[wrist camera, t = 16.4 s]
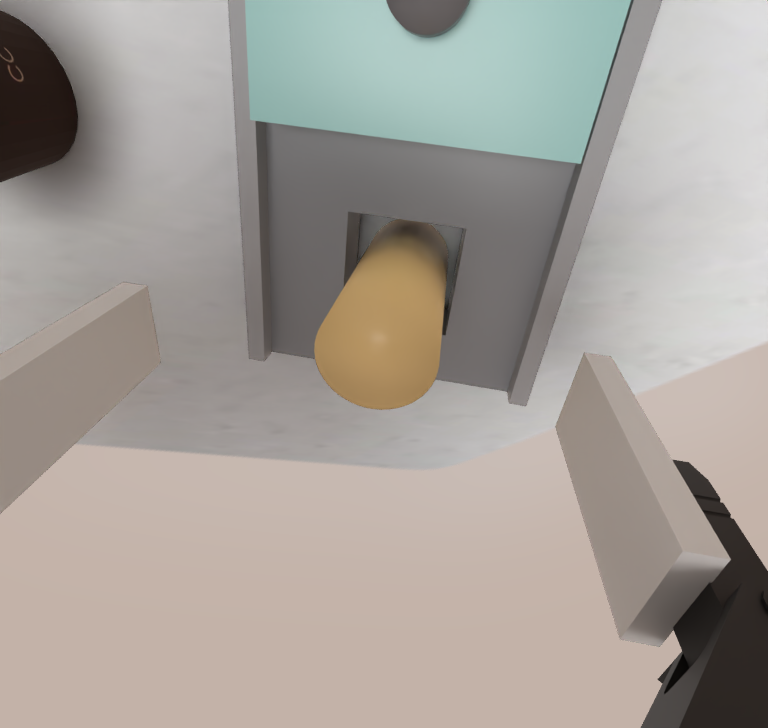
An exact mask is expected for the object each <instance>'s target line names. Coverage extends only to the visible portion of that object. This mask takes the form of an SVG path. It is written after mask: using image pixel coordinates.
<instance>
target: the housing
mask: <svg viewBox="0 0 768 728" xmlns="http://www.w3.org/2000/svg"><path fill="white" fill-rule="evenodd" d="M661 2H662V0H631V2H630V5H629V8H628V12H627V15H626V18H625V21H624V25H623V28H622V31H621V34H620V38H619V41H618V44H617V47H616V51H615V54H614V57H613V60H612V64H611V67H610V70H609V74H608V77H607V80H606V83H605V87H604V90H603V93H602V96H601V100H600V103H599V106H598V109H597V113H596V116H595V119H594V122H593V126H592V129H591V132H590V135H589V139H588V142H587V145H586V148H585V152H584V155H583V158H582V161H581V164H578V163H570V162H563V161H555V160H548V159H540V158H533V157H525V156H518V155H510V154H502V153H495V152H487V151H480V150H472V149H465V148H457V147H450V146H442V145H435V144H427V143H420V142H412V141H405V140H397V139H390V138H382V137H375V136H367V135H359V134H352V133H344V132H337V131H329V130H322V129H314V128H307V127H299V126H292V125H284V124H277V123H269V122H262V121H254V120H250V105H249V82H248V59H247V36H246V13H245V0H228V9H229V26H230V43H231V60H232V77H233V94H234V111H235V129H236V146H237V163H238V180H239V197H240V214H241V231H242V248H243V265H244V282H245V299H246V316H247V333H248V350H249V359H254V360H260V361H265V360H266V359H267V357H268V356H269V355H270V353H271V352H278V353H284V354H289V355H295V356H301V357H307V358H313V359H315V353H314V347H315V339H316V335H317V333H318V330H319V328H320V326H321V324H322V323H323V321H324V319H325V318H326V316H327V314H328V313H329V311H330V309H331V308H332V306H333V304H334V303H335V301H336V300H337V298H338V296H339V295H340V293H341V291H342V290H343V288H344V286H345V285H346V283H347V281H348V280H349V278H350V276H351V275H352V273H353V271H354V270H355V268H356V265H357V252H358V239H359V226H360V213H362V214H368V215H375V216H382V217H389V218H396V219H403V220H410V221H417V222H423V223H430V224H437V225H444V226H451V227H458V228H463V233H462V238H461V243H460V248H459V253H458V258H457V263H456V268H455V273H454V279H453V284H452V289H451V294H450V299H449V304H448V309H444V315H443V327H442V338H441V350H440V361H439V369H438V373H437V376H436V378H435V379H436V380H442V381H448V382H454V383H460V384H466V385H472V386H478V387H484V388H489V389H495V390H501V391H507V393H508V400H509V403H510V404H516V405H522V406H526V405H527V402H528V399H529V396H530V393H531V390H532V387H533V384H534V381H535V378H536V375H537V372H538V369H539V366H540V363H541V360H542V357H543V354H544V351H545V348H546V345H547V342H548V339H549V336H550V333H551V330H552V327H553V324H554V321H555V318H556V315H557V312H558V309H559V306H560V303H561V300H562V297H563V294H564V291H565V288H566V285H567V282H568V280H569V277H570V274H571V271H572V268H573V265H574V262H575V259H576V256H577V253H578V250H579V247H580V244H581V241H582V238H583V235H584V232H585V229H586V226H587V223H588V220H589V217H590V214H591V211H592V208H593V205H594V202H595V199H596V196H597V193H598V190H599V187H600V184H601V181H602V178H603V175H604V172H605V169H606V166H607V163H608V160H609V157H610V154H611V151H612V148H613V145H614V142H615V139H616V136H617V133H618V131H619V128H620V125H621V122H622V119H623V116H624V113H625V110H626V107H627V104H628V101H629V98H630V95H631V92H632V89H633V86H634V83H635V80H636V77H637V74H638V71H639V68H640V65H641V62H642V59H643V56H644V53H645V50H646V47H647V44H648V41H649V38H650V35H651V32H652V29H653V26H654V23H655V20H656V17H657V14H658V11H659V8H660V5H661Z"/></svg>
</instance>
